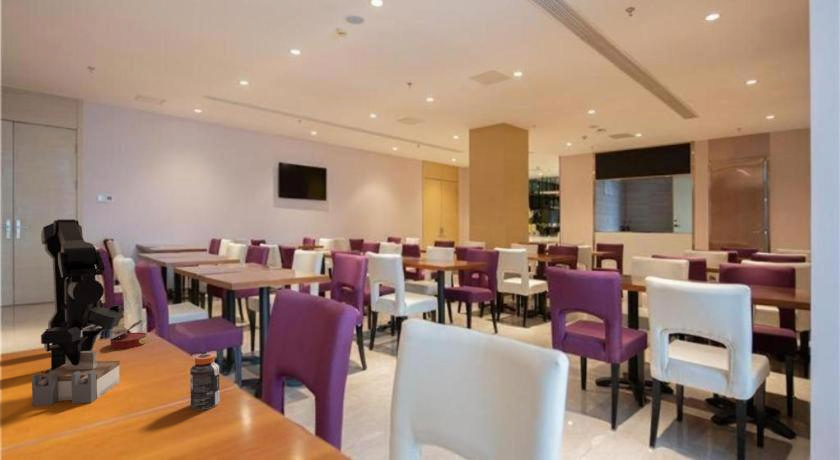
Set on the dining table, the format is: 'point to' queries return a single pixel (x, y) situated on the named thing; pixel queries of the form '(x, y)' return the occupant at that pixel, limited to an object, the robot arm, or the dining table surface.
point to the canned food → (128, 339)
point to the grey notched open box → (72, 388)
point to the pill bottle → (204, 382)
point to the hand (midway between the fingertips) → (81, 362)
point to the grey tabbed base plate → (82, 368)
